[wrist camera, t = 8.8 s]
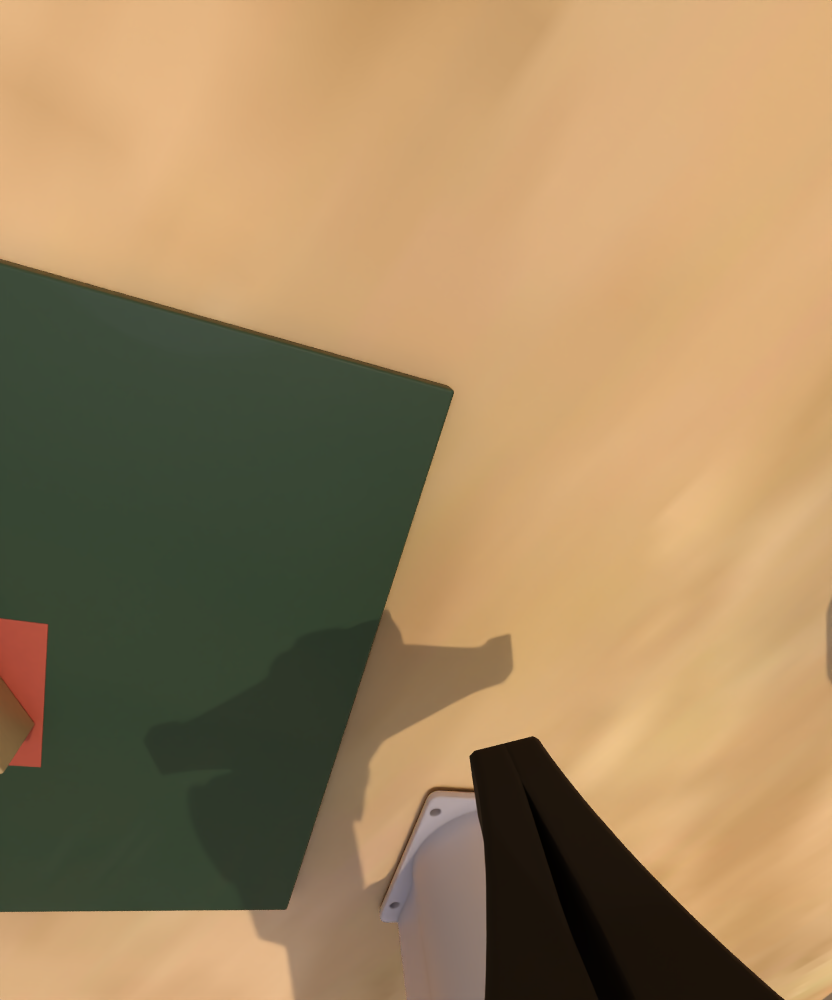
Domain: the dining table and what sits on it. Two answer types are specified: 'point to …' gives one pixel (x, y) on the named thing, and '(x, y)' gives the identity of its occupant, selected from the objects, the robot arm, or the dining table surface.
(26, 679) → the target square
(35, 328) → the game board
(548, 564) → the dining table surface
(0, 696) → the letter tile
